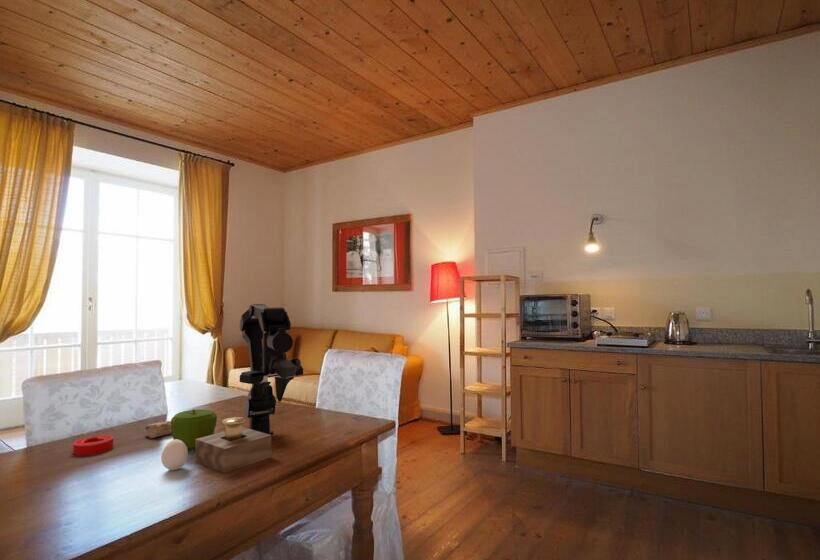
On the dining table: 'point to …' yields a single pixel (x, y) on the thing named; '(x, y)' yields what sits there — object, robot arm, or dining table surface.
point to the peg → (233, 428)
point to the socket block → (232, 450)
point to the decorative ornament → (93, 445)
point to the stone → (158, 429)
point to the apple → (193, 426)
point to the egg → (174, 455)
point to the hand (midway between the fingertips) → (272, 403)
